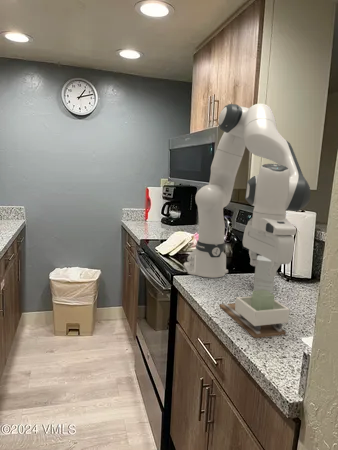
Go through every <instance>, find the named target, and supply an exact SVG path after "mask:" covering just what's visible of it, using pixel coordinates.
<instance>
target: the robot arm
mask: <svg viewBox="0 0 338 450" xmlns="http://www.w3.org/2000/svg"><path fill="white" fill-rule="evenodd" d="M217 124H218V127H219V129H220V130H222V132H223V134H222V136H221V137H220V139H219V143H218V145H217V147H216V150H215V153H214V156H213V159H212V162H211V166H210V176H209V183H208V184H205V185H204V186H202V187H200V188H199V189H198V191H196V194H195V197H194V198H195V204H196V206H197V212H198V222H199V223H198V239H197V240H196V245H195V249H193V250H192V251H191V252H190V253H189V255H187V261H185V262H184V263H183V266H184V268H185V270H186V272H187V274H188V275H192V276H193V275H194V276H199V277H203V278H213V279H214V278H221V277H224V276H225V275H226V274H228V273H229V269H227V255H226V253H225V252H224V251H225V244H226V243H225V231H226V230H225V229H226V224H225V219H224V208H225V207H227V206H228V205H229V204H230V202H231V200H232V195H233V190H234V186H235V181H236V178H237V177H236V176H237V174H238V171H239V168H240V166H241V162H242V159H243V156H244V154H245V150H246V149H247V150H248V152H250V153H251V154H252V155H254V156H257V157H258V158H262V159H265V160H269V161H272V162H273V163H265V164H262V165H261V166H260V168H259V170H258V174H257V175H254V176H252V177H251V178H250V179H248V180H247V181H246V188H245V189H246V190H245V196H244V199H245V200H246V201H247V203H248V204H249V205H250V206H253V211H252V217H251V218H250V219H249V220H248V221H247V224H246V226H245V228H244V231H243V237H242V246H243V247H244V248H246V249H248V254H249V255H248V256H249V258H250V260H249V261H250V262H249V264H250V266H252V267H255V266H257V265H258V260H257V256H263V257H265V258H268V259H270V260H271V264H272V266H271V268H270V269H268V275H270V276H271V277H274V276H275V277H276V276H277V272H278V269H279V268H280V267H281V265H289V264H290V263H291V262H292V260H293V255H294V248H295V238H294V237H293V236H296V234H297V227H296V226H294V224H293V223H291V222H290V221H289V219H288V218H286V217H287V211H291V212H299V211H300V210H302V209H304V208H306V206H307V205H308V204H309V203H310V199H311V195H312V194H311V188H310V185H309V182H308V181H307V180H306V178H305V176H304V174H303V172H302V169H301V167H300V163H299V161H298V158H297V156H296V153H295V151H294V148H293V147H292V145H291V143H290V142H289V141H288V140H286V139H285V138H284V137H283V136H282V135H281V133H280V132H279V130H278V126H277V122H276V118H275V115H274V112H273V110H272V108H271V106H269V105H267V104H265V103H259V102H258V103H256V104H253V105H252V106H250V107H245V106H243V105H242V106H241V105H240V106H239V105H238V104H236V103H235V104H233V103H228V104H227V105H225V106H223V108H222V110H221V112H220V113H219V115H218V123H217ZM257 254H258V255H257ZM275 277H274V278H275Z"/></svg>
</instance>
